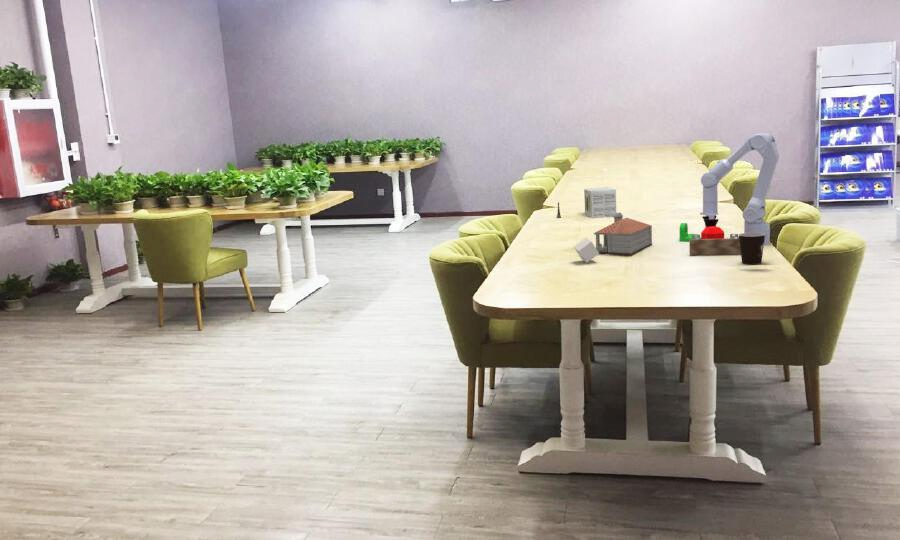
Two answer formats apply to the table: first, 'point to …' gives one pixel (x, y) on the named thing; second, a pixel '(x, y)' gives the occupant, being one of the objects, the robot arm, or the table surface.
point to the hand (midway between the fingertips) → (710, 234)
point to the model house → (624, 237)
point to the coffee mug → (751, 247)
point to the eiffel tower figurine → (558, 212)
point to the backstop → (715, 247)
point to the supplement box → (600, 202)
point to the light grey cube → (586, 250)
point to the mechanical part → (685, 233)
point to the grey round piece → (700, 238)
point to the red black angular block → (712, 233)
